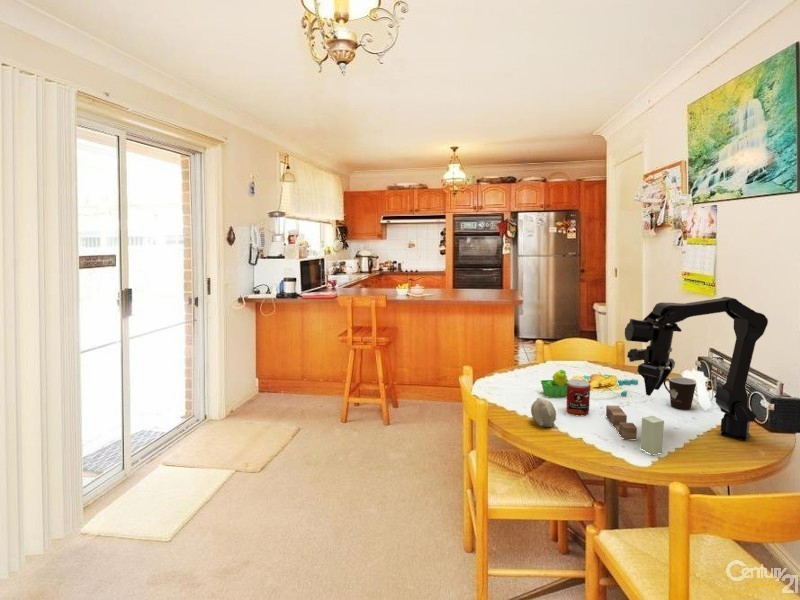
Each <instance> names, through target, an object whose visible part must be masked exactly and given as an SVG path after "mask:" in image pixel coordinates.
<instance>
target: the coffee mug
mask: <svg viewBox="0 0 800 600" xmlns="http://www.w3.org/2000/svg"><path fill="white" fill-rule="evenodd" d="M667 381H668V384H669V388H668V386H667V384H666V382H667ZM663 385H664V388H665V389H666V391H667V392H668V393H669V398H670V402H669V403H670V407H671V408H673V409H675V410H681V411H690V410H691V409H692V405H693V400H694V395H695V391H696V387H697V386H696V385H697V381H696V380H695V379H692V378H688V377H683V376H672V377H671V376H670V377H669V378H666V380H665V381H664V382H663Z"/></svg>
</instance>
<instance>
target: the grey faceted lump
mask: <svg viewBox="0 0 800 600" xmlns="http://www.w3.org/2000/svg"><path fill="white" fill-rule="evenodd" d="M530 413H531V416H532V419H534V421H535V423H536V424H537V425H538V426H540V427H546V428H550V427H551V428H552V427H553V426H556V424H555V422H556V419H557V418H556V417H557V411H556V409H555V407H554V404H553V403H552V402H551V401H550V400H548V399H545V398H540V397H537V398H536V400H535V401H533V403H532V405H531V407H530Z"/></svg>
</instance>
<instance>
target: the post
mask: <svg viewBox="0 0 800 600" xmlns="http://www.w3.org/2000/svg"><path fill="white" fill-rule="evenodd" d="M664 430H665V420H663V419H662V418H658V417H656V416H654V415H651V416H644V417H642V418H641V430H640V431H641V432H640V434H641V435H640V448H641V449H643V450H645V451H646V452H648V453H650V454H651V455H652V456H654V455H653V454H657V455H659V454H658V453H662V454H663V448H664V432H665V431H664ZM651 455H650V456H651Z"/></svg>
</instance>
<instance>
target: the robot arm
mask: <svg viewBox="0 0 800 600" xmlns="http://www.w3.org/2000/svg"><path fill="white" fill-rule="evenodd" d="M719 313H726V314H727V316H728V317H729V318H732V320H733V331H734V335H735V343H734V346H733V352H732V357H731V361H730V364H729V369H728V374H727V378H726V382H725V383H724V384H723V385H721V386H720V385H717V386H716V388H715V390H716V392H715V395H714V396H713V398H715V403H716V405H717V406H718V408H719V409H720V412H721V413H724V414H723V417H722V418H721V421H720V435H721V436H723V437H728V438H732V439H736V440H740V441H745V442H746V441H747V440H748V439H749V437H750V436H751V433H750V424H751V423H750V422H755V420H756V417H757V415H756V414H755V413H754V411H752V410H751V409H750V408H749V396H748V393H747V388H746V387H747V386H746V385H747V381H748V377H749V373H750V369H751V364H752V359H753V355H754V351H755V347H756V342H757V341H759V339H760V338H761V337H762V336H763V335H764V334H765V332H766V328H767V326H768V324H769V320H768V317H767V316H766V315H765V314H764V313H762V312H758V311H755V310H753V309H751V308H750V307H748V306H747V305H745V304H743V303H742V302H740V301H739V300H738V299H736V298H734V297H729V296H723V297H720V298H713V299H712V298H711V299H706V300H699V301H692V302H691V301H690V302H685V303H680V302H679V303H677V302H658V303H656V304H655V306H653V308H652V311H650V312H649V314H647V315H646V316H645V317H644V318H643V320H641V319H635V318H630V319H629V322H628V323H627V324H626V327H624V337H625V340H626V341H627V342H639V343H645V344H646V343H649V342H650V343H649V345H648V346H646V348H641V349H638V348H630V349H629V351H627V355H626V357H627V358H628V360H629V362H630V363H631V362H632V363H633V362H636V361H638V362H639V361H643V363H641V364H639V365H637V371H636V372H637V373H638V374H639V375H640V376H641V377H642V378H643V381H644V388H645V395H646V396H649V397H650V396H651V395H652V394H653V392H654V391H655V390H656V391H659V390H660V388H661V387H662V385H664V381H665V380H666V379H668V377H669V375H670V374H671V373H672V372H673V370H674V368H675V365H676V362H675V361H674V359H673V358H670V355H671V352H672V351H673V347H672V343H673V338H674V332H679V333H680V332H682V329H681V328H680V327H679V325H678V323H680V322H683V321H684V320H686V319H688V318H691V317H696V316H697V317H698V316H703V315H704V316H705V315H711V314H719ZM666 381H667V380H666Z"/></svg>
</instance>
